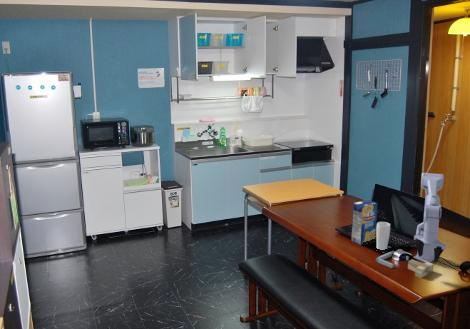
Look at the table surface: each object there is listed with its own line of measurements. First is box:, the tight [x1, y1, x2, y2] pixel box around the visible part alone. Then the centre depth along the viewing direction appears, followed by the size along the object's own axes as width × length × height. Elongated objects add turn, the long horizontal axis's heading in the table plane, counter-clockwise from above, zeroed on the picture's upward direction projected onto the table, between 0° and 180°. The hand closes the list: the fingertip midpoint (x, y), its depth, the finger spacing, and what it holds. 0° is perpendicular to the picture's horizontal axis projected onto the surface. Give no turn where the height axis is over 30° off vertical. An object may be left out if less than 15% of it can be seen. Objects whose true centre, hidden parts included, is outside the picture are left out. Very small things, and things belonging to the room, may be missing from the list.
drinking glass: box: [375, 221, 391, 250], centre depth 234 cm, size 7×7×15 cm
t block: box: [407, 259, 434, 279], centre depth 213 cm, size 10×9×4 cm
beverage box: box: [351, 199, 378, 246], centre depth 246 cm, size 7×11×22 cm, turn 120°
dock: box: [375, 250, 410, 269], centre depth 224 cm, size 14×9×2 cm, turn 127°
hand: (428, 258), depth 205 cm, fingers open, 7 cm apart
